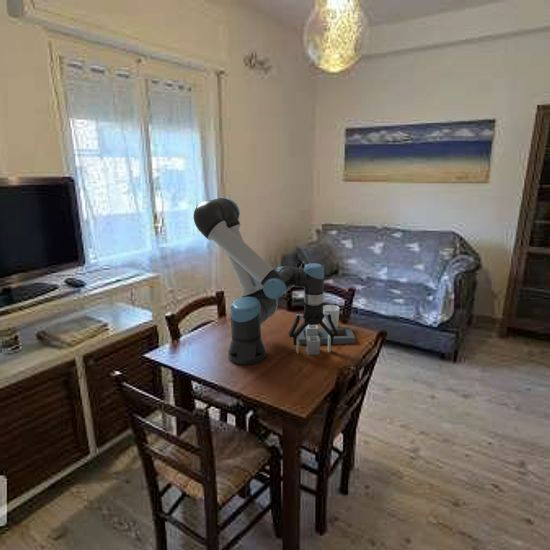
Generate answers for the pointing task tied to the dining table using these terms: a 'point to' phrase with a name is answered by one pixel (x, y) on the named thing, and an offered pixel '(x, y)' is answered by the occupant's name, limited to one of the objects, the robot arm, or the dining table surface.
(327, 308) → the white cup
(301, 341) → the grey socket block
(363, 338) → the dining table surface
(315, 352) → the block
